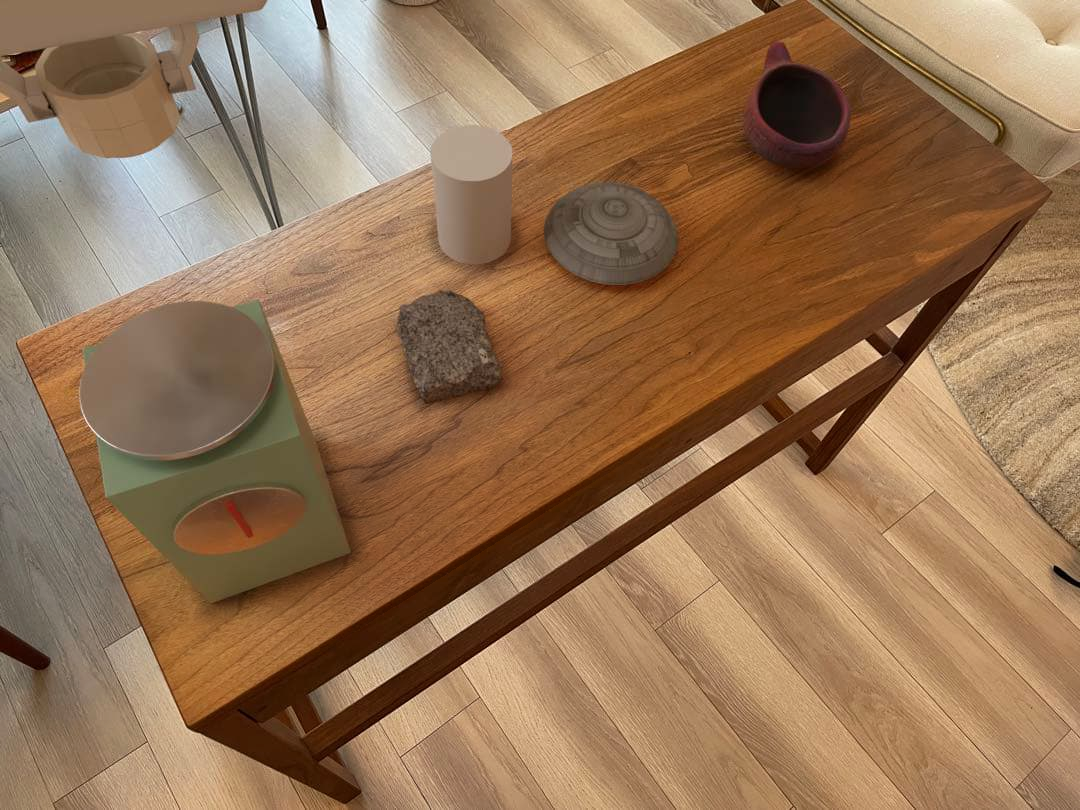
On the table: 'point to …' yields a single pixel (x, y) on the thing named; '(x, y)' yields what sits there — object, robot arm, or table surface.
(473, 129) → the taupe round pillar
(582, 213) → the flying saucer
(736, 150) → the table surface
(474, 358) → the stone
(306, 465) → the scale
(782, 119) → the bowl
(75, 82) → the small bowl
